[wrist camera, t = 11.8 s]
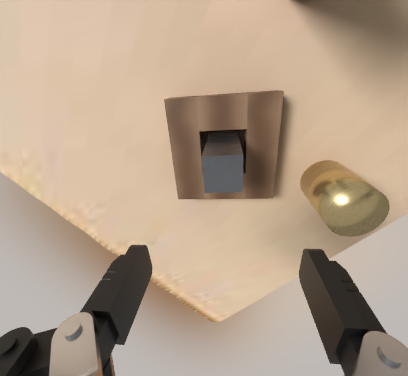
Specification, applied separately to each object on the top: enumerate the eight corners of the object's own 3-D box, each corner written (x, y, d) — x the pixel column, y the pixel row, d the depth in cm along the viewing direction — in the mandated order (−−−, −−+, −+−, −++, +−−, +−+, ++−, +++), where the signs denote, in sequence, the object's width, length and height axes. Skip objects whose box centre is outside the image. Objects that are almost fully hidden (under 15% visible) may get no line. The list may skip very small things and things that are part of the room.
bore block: (276, 90, 26) (283, 91, 23) (268, 187, 32) (273, 198, 29) (171, 97, 28) (164, 99, 25) (182, 188, 34) (178, 199, 31)
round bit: (351, 159, 29) (398, 188, 21) (340, 198, 32) (378, 236, 24) (303, 161, 30) (332, 188, 22) (297, 199, 33) (320, 236, 25)
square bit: (237, 131, 29) (243, 154, 19) (237, 158, 31) (242, 192, 21) (209, 132, 29) (201, 156, 20) (211, 159, 31) (204, 192, 21)
